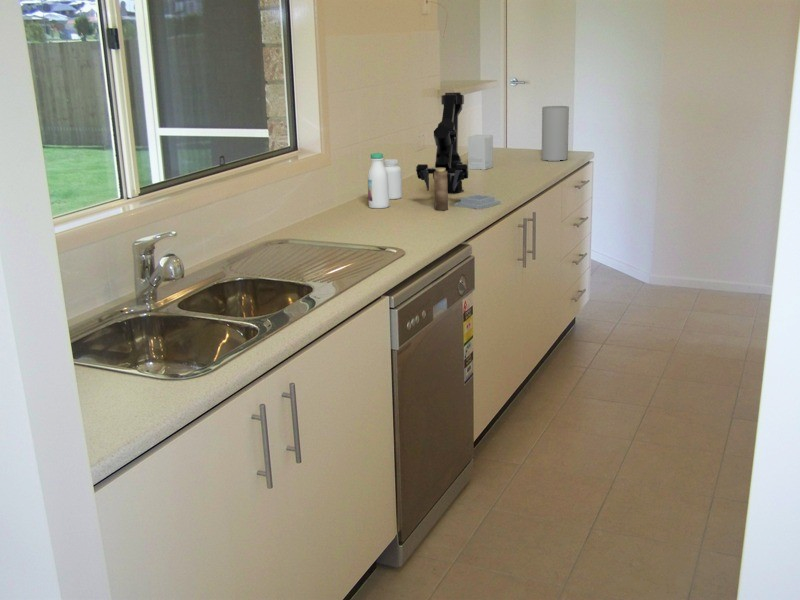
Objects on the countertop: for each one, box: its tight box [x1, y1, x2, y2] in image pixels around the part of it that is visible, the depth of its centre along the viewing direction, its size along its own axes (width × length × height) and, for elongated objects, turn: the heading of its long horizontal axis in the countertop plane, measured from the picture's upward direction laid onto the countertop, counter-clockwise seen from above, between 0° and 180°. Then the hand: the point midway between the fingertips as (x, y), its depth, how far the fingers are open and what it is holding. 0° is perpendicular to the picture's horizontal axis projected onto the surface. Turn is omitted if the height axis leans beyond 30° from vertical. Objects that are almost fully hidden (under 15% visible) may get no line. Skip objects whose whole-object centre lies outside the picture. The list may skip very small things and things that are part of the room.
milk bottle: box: [367, 152, 390, 209], centre depth 324 cm, size 8×8×20 cm
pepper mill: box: [433, 167, 449, 212], centre depth 316 cm, size 5×5×15 cm
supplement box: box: [467, 134, 494, 171], centre depth 403 cm, size 9×9×15 cm
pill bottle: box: [383, 158, 403, 200], centre depth 341 cm, size 8×8×15 cm
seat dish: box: [454, 193, 501, 210], centre depth 324 cm, size 12×12×3 cm
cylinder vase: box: [541, 105, 570, 162], centre depth 418 cm, size 12×12×25 cm
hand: (440, 190), depth 315 cm, fingers open, 9 cm apart
